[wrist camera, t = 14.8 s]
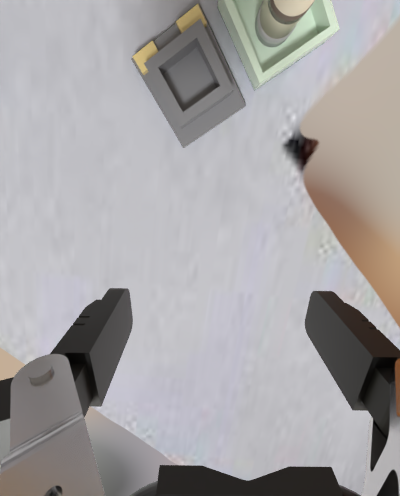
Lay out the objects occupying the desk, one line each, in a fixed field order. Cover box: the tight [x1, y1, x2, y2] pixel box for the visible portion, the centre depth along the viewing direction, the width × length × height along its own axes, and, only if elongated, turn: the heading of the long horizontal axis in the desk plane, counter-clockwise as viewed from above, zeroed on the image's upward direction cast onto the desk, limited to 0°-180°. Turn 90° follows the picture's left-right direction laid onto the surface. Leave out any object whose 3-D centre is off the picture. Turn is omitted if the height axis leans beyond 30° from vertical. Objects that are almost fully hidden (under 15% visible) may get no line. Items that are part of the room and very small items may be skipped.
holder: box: [132, 4, 246, 148], centre depth 29 cm, size 12×10×4 cm
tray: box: [218, 0, 339, 90], centre depth 27 cm, size 10×10×3 cm
